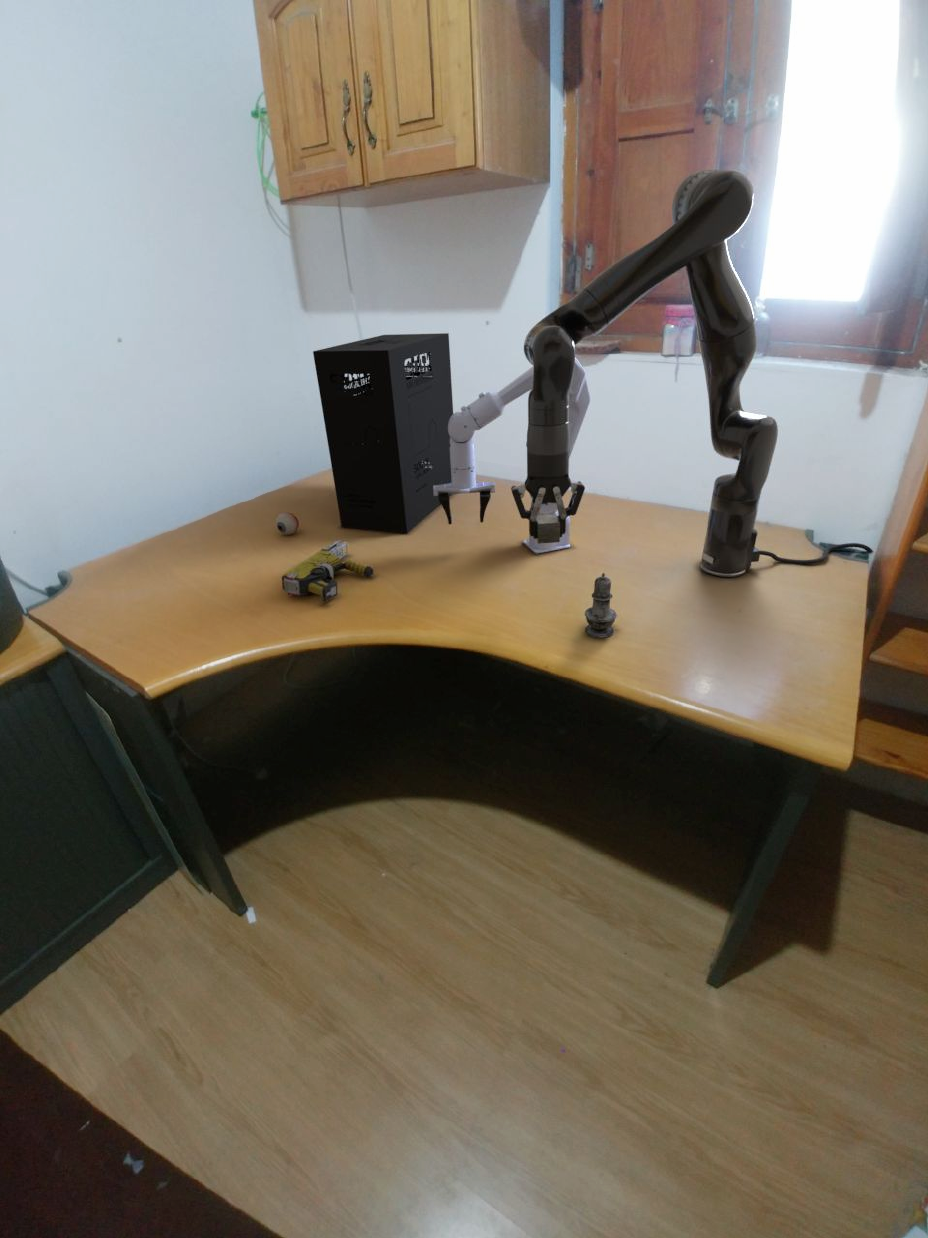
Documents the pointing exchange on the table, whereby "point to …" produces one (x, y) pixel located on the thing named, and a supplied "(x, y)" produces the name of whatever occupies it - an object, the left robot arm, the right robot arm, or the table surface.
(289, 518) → the eyeball
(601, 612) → the grey stone finial
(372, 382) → the cardboard box
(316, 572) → the toy gun
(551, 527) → the grey cube
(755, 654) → the table surface
